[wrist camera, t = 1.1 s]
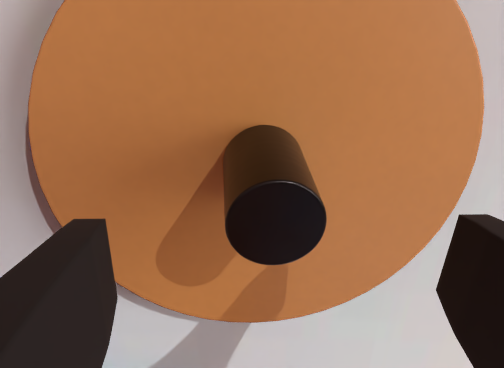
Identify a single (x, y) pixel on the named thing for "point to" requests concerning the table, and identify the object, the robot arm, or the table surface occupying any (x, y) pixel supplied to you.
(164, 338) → the table surface
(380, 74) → the lid
